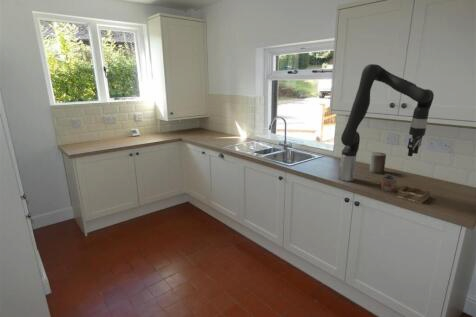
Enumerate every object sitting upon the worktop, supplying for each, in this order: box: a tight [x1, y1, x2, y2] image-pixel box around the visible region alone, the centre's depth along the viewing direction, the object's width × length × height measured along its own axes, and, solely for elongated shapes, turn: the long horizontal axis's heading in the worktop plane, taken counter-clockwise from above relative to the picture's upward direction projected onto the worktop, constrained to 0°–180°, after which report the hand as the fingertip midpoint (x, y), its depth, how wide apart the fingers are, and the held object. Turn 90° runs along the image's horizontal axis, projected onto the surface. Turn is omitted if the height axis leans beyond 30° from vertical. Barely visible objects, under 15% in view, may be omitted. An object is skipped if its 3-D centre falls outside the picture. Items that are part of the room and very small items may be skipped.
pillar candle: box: [369, 151, 387, 175], centre depth 209 cm, size 10×10×15 cm
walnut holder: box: [396, 185, 431, 204], centre depth 166 cm, size 13×13×4 cm
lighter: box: [380, 173, 398, 193], centre depth 175 cm, size 8×3×10 cm, turn 45°
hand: (412, 154), depth 163 cm, fingers open, 8 cm apart
